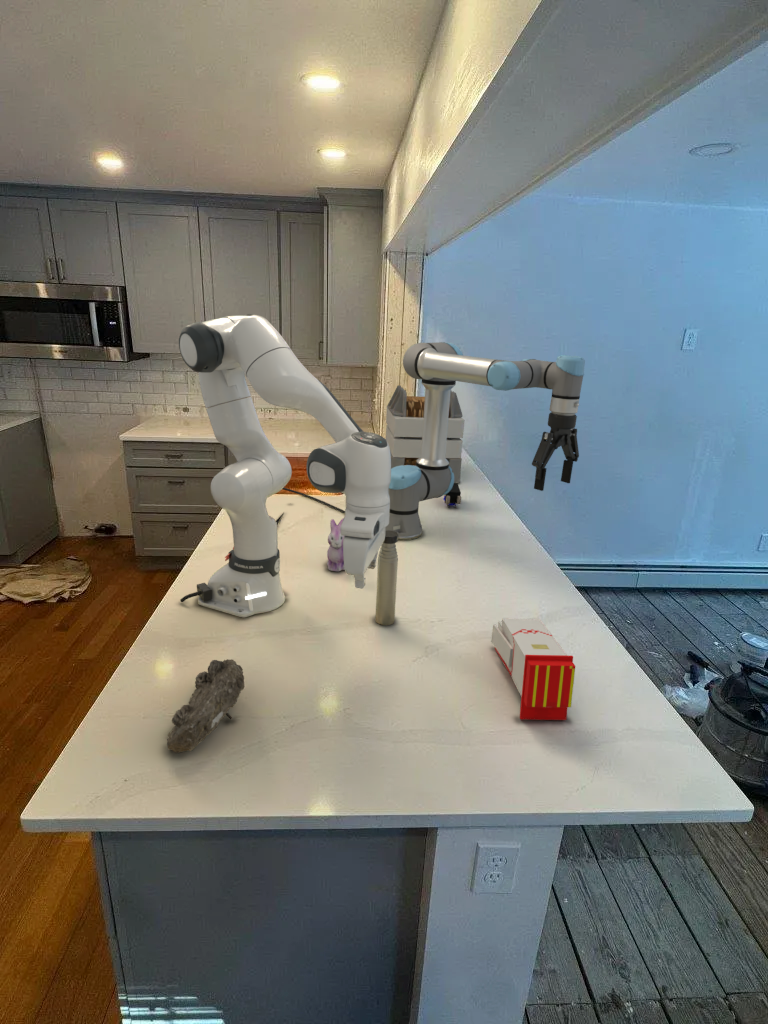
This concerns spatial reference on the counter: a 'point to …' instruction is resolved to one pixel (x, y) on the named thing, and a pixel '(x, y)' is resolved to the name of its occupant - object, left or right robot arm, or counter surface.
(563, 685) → the toy
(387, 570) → the bottle
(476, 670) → the counter surface
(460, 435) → the white wooden crate
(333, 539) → the figurine
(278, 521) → the feather
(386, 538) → the cap
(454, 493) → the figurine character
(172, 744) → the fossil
